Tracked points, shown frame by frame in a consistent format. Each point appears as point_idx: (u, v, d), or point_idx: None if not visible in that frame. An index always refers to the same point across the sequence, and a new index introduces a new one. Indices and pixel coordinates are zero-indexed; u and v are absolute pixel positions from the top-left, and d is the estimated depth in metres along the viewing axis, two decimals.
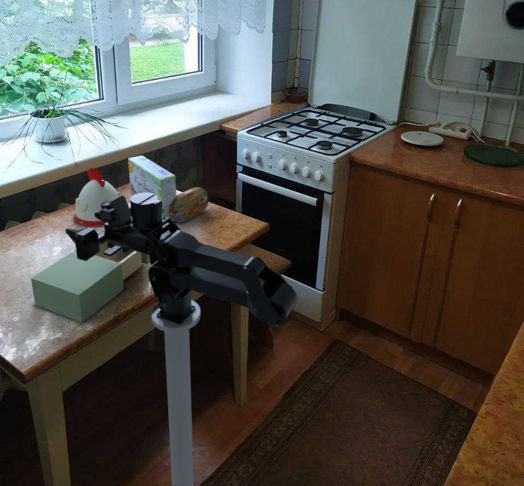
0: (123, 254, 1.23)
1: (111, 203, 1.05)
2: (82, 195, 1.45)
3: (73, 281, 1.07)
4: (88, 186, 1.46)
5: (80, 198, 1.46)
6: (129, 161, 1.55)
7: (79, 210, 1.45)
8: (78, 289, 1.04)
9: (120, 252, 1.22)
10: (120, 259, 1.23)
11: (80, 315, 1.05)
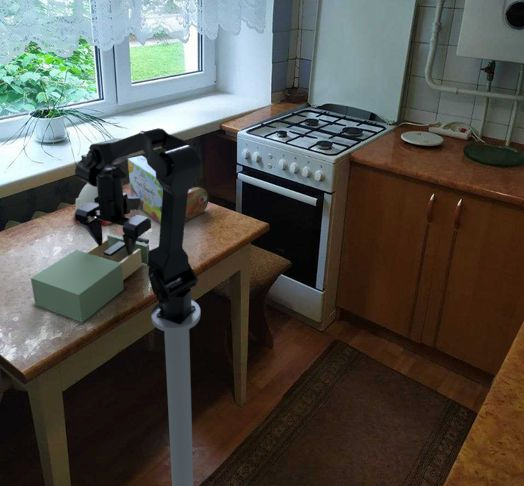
0: (123, 254, 1.23)
1: (126, 194, 1.25)
2: (82, 195, 1.45)
3: (73, 281, 1.07)
4: (88, 186, 1.46)
5: (80, 198, 1.46)
6: (129, 161, 1.55)
7: None
8: (78, 289, 1.04)
9: (120, 252, 1.22)
10: (120, 259, 1.23)
11: (80, 315, 1.05)
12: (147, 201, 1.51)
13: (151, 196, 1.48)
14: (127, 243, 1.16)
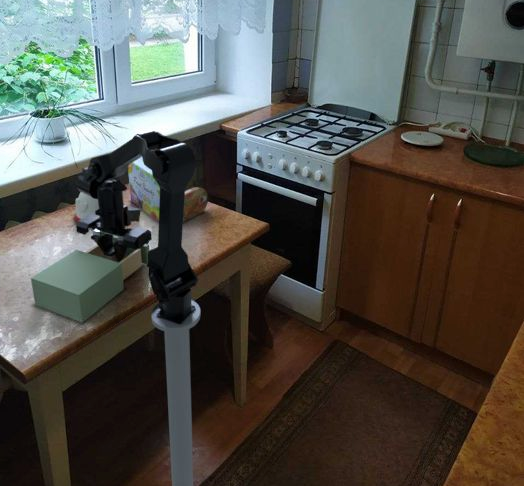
0: None
1: (127, 206, 1.27)
2: (82, 195, 1.45)
3: (73, 281, 1.07)
4: None
5: (80, 198, 1.46)
6: None
7: (79, 210, 1.45)
8: (78, 289, 1.04)
9: None
10: None
11: (80, 315, 1.05)
12: (147, 201, 1.51)
13: (151, 196, 1.48)
14: (117, 251, 1.19)
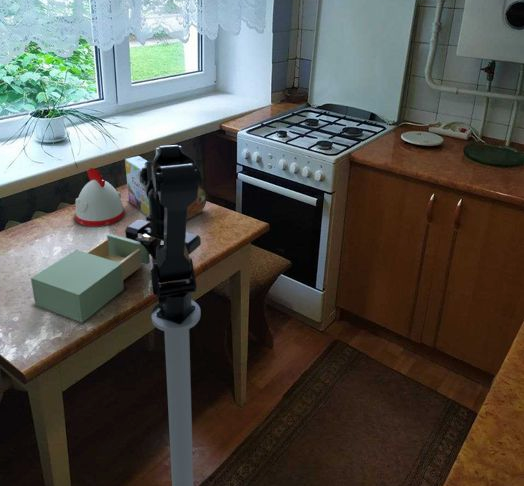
0: None
1: None
2: (82, 195, 1.45)
3: (73, 281, 1.07)
4: (88, 186, 1.46)
5: (80, 198, 1.46)
6: (126, 162, 1.55)
7: (79, 210, 1.45)
8: (78, 289, 1.04)
9: None
10: None
11: (80, 315, 1.05)
12: (145, 202, 1.51)
13: None
14: None
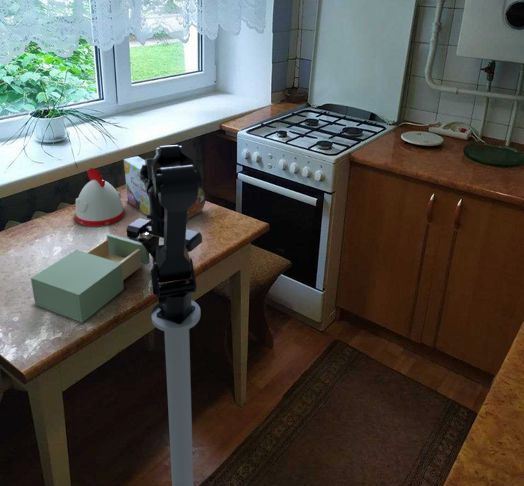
0: None
1: None
2: (82, 195, 1.45)
3: (73, 281, 1.07)
4: (88, 186, 1.46)
5: (80, 198, 1.46)
6: (125, 162, 1.55)
7: (79, 210, 1.45)
8: (78, 289, 1.04)
9: None
10: None
11: (80, 315, 1.05)
12: (144, 202, 1.51)
13: (148, 197, 1.48)
14: None
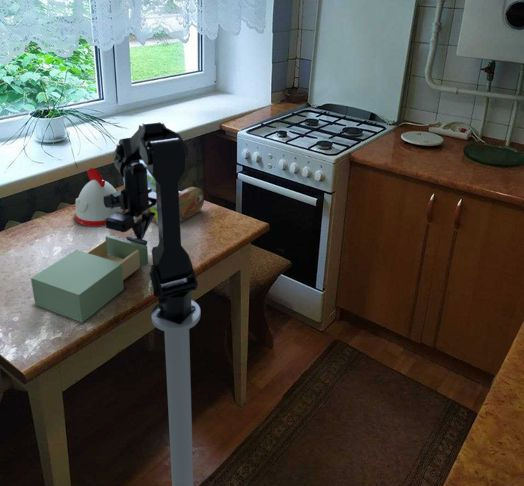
0: None
1: None
2: (82, 195, 1.45)
3: (73, 281, 1.07)
4: (88, 186, 1.46)
5: (80, 198, 1.46)
6: None
7: (79, 210, 1.45)
8: (78, 289, 1.04)
9: None
10: None
11: (80, 315, 1.05)
12: None
13: None
14: (149, 224, 1.30)
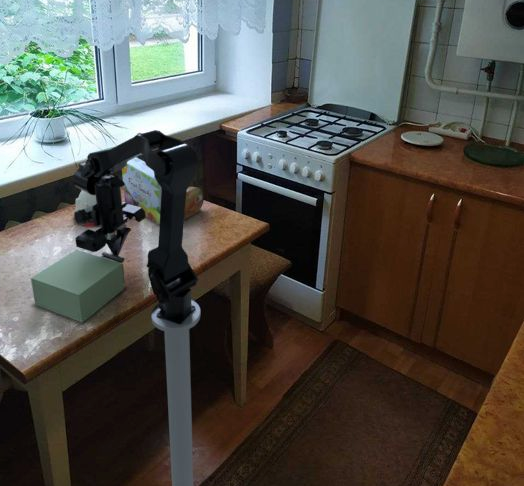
0: None
1: None
2: (82, 195, 1.45)
3: (73, 281, 1.07)
4: None
5: (80, 198, 1.46)
6: None
7: None
8: (78, 289, 1.04)
9: None
10: None
11: (80, 315, 1.05)
12: (143, 202, 1.50)
13: (147, 197, 1.48)
14: (124, 240, 1.21)
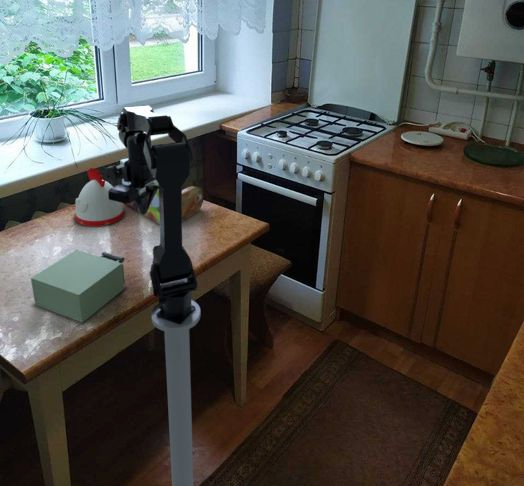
0: None
1: None
2: (82, 195, 1.45)
3: (73, 281, 1.07)
4: (88, 186, 1.46)
5: (80, 198, 1.46)
6: (121, 163, 1.54)
7: (79, 210, 1.45)
8: (78, 289, 1.04)
9: None
10: None
11: (80, 315, 1.05)
12: None
13: None
14: (153, 197, 1.26)
